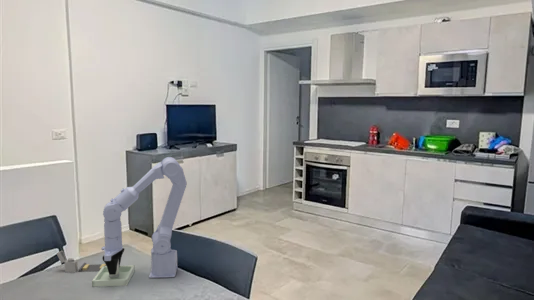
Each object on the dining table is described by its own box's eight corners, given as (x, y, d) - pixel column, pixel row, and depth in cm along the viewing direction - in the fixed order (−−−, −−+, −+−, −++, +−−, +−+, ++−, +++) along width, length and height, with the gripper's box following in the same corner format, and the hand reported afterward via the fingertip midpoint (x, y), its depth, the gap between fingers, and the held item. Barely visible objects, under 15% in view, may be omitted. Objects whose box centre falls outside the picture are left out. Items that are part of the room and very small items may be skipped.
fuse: (120, 273, 136) (120, 256, 135) (117, 278, 132) (116, 261, 131) (110, 273, 135) (110, 256, 135) (107, 278, 132) (106, 261, 131)
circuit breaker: (77, 271, 139) (77, 251, 138) (75, 273, 138) (74, 253, 137) (60, 270, 140) (59, 250, 139) (57, 272, 138) (56, 252, 137)
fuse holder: (109, 265, 145) (109, 262, 145) (105, 272, 139) (104, 269, 139) (84, 265, 144) (84, 262, 144) (78, 272, 138) (78, 269, 138)
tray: (134, 271, 140) (134, 265, 140) (126, 286, 129) (126, 280, 129) (103, 272, 139) (102, 266, 139) (92, 287, 128) (91, 281, 127)
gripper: (107, 228, 139) (109, 263, 140) (94, 243, 124) (95, 281, 126) (127, 228, 139) (128, 262, 141) (116, 243, 125) (117, 280, 127)
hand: (114, 271), depth 134 cm, fingers closed on fuse, 3 cm apart
